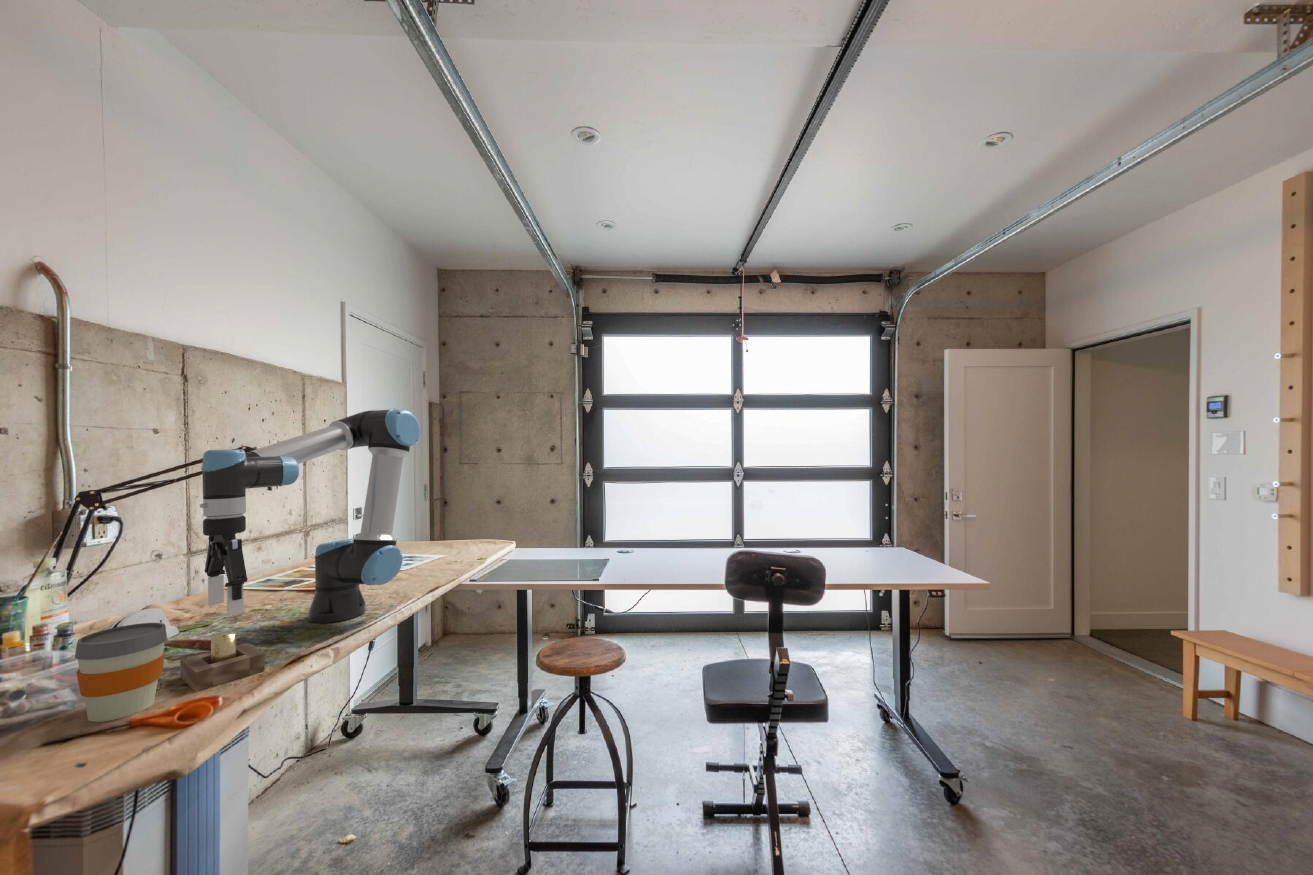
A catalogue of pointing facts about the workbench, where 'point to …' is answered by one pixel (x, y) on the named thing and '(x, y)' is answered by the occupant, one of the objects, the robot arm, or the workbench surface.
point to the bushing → (223, 646)
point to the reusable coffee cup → (120, 669)
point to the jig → (221, 667)
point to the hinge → (147, 620)
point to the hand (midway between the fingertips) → (225, 608)
